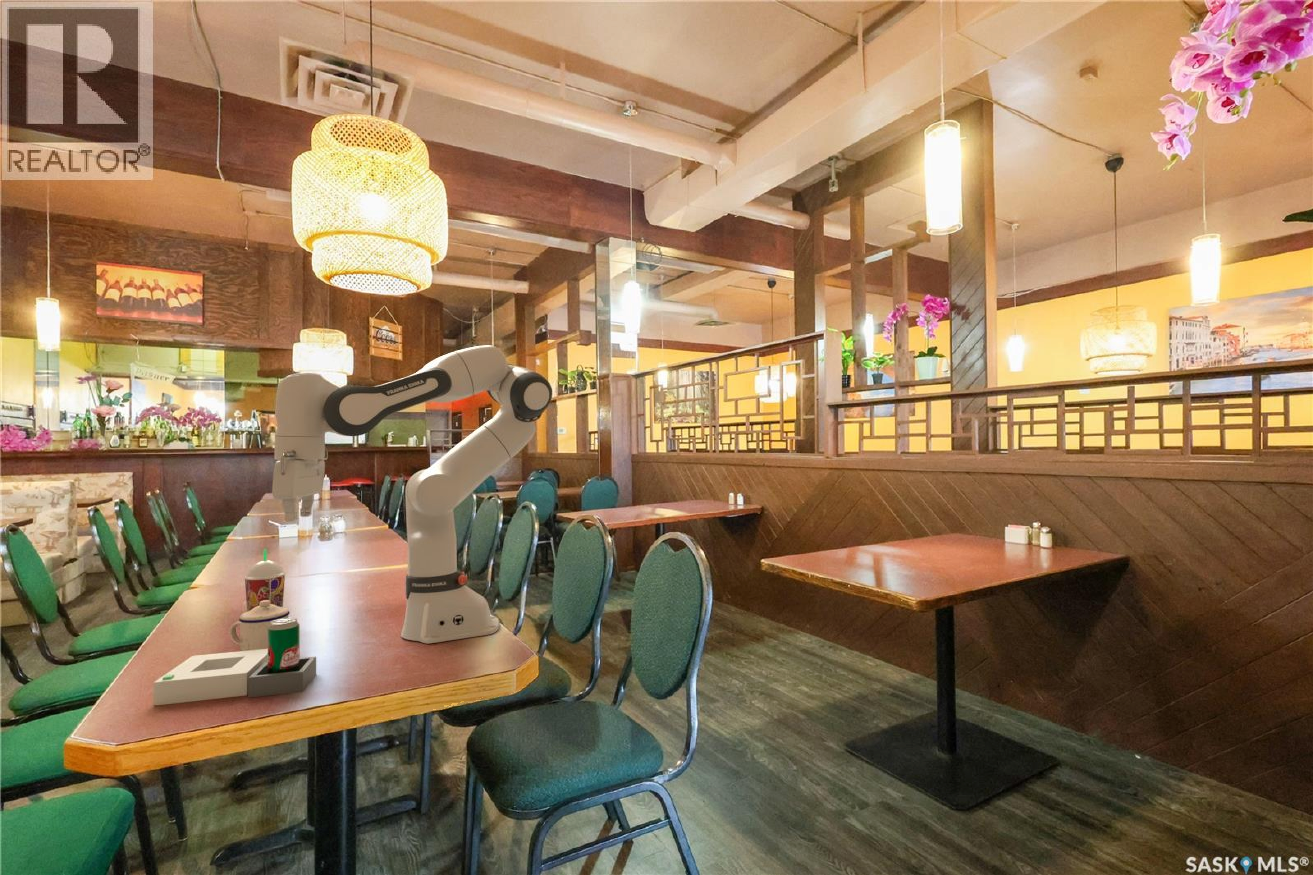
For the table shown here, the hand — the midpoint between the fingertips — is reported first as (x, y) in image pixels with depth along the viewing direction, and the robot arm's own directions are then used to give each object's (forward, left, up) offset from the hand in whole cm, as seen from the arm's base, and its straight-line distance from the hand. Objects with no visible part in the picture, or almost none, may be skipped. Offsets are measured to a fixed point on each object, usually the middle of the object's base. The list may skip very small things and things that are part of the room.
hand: (298, 518), depth 122 cm
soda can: (0, +11, -30) cm, 32 cm away
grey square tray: (0, +11, -30) cm, 32 cm away
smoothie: (+16, -30, -30) cm, 45 cm away
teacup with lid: (+11, -10, -30) cm, 34 cm away
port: (+12, +7, -30) cm, 33 cm away
